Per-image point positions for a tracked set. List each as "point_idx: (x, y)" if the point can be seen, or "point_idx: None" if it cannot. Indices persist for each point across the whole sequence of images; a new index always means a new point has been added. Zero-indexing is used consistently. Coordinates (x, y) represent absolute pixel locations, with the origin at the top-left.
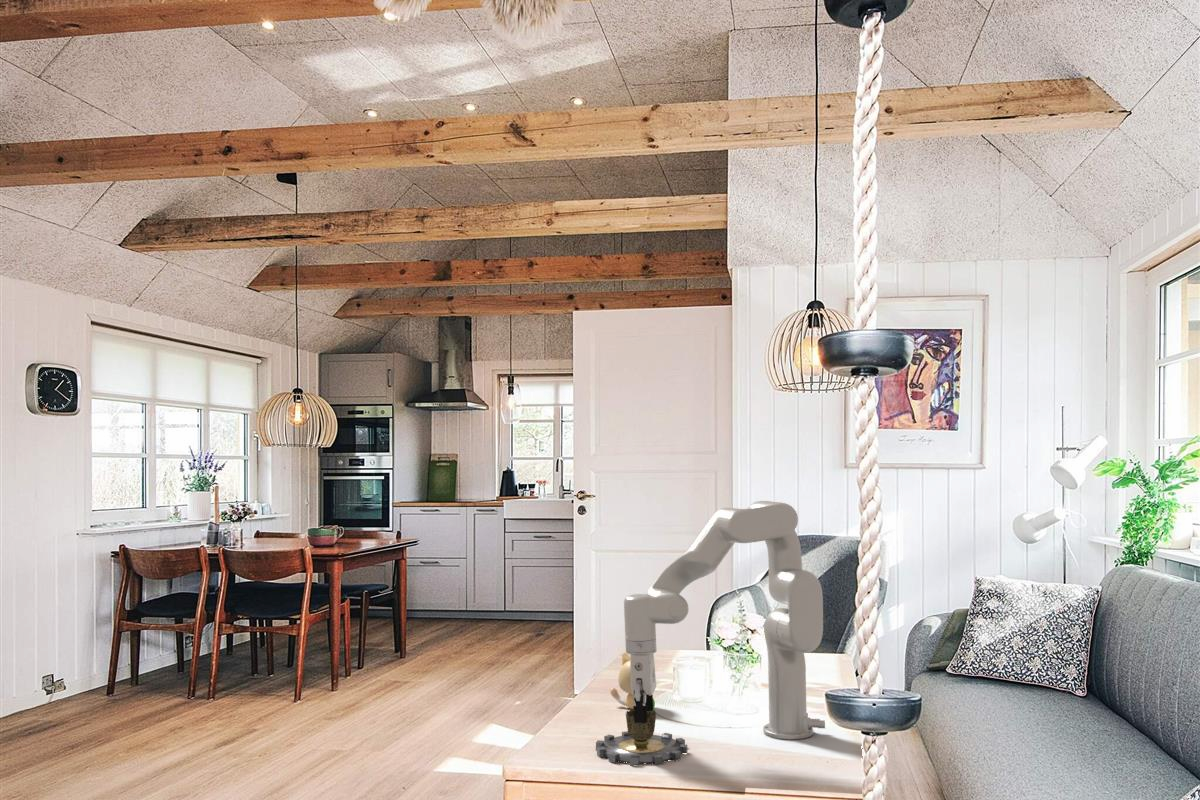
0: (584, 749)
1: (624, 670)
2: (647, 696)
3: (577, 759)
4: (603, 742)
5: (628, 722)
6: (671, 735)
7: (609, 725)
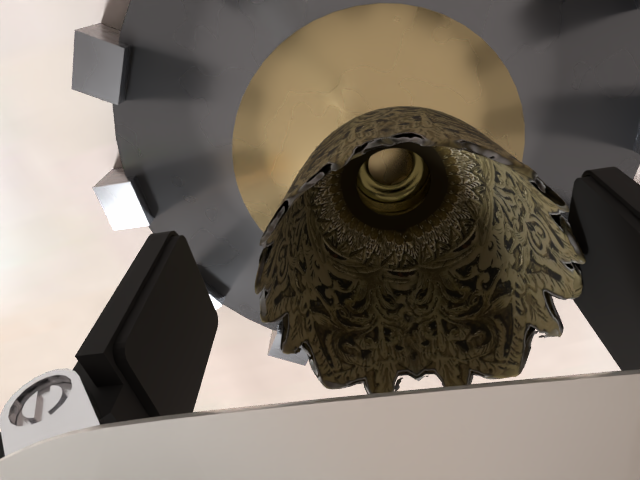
0: (411, 378)
1: None
2: (149, 384)
3: (555, 366)
4: None
5: (489, 318)
6: (86, 32)
7: None
